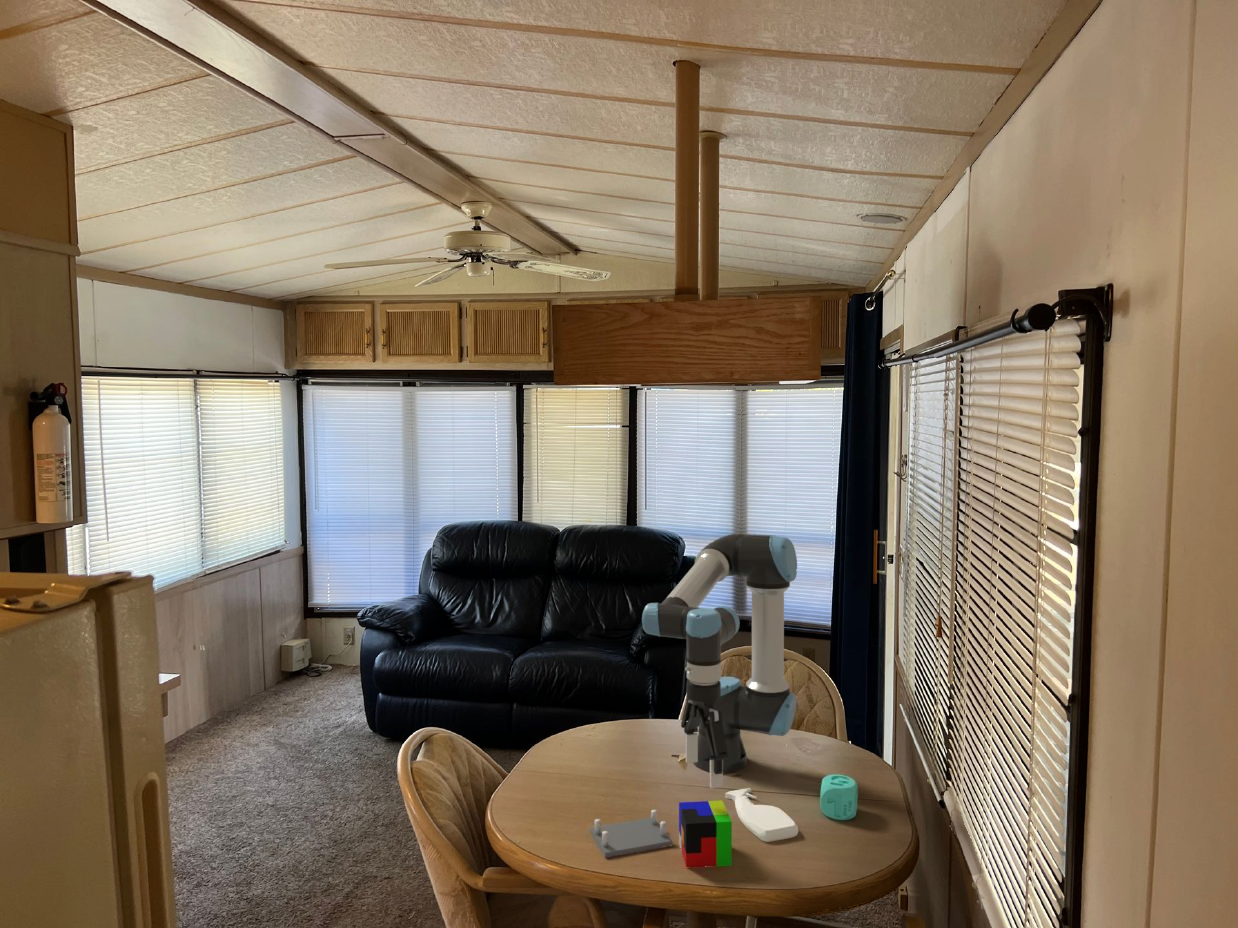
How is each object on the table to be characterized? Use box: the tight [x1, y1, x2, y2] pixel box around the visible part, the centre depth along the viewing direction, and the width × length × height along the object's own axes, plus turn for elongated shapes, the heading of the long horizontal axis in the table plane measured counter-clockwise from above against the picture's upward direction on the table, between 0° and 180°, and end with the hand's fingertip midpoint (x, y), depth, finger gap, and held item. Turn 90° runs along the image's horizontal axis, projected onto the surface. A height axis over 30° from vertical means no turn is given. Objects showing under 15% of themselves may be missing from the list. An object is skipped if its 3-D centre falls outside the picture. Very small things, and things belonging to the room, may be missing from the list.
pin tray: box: [589, 809, 673, 859], centre depth 200 cm, size 16×12×4 cm
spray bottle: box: [724, 787, 799, 843], centre depth 211 cm, size 3×11×24 cm
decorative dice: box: [819, 774, 859, 821], centre depth 212 cm, size 8×8×8 cm
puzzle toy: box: [678, 799, 733, 868], centre depth 192 cm, size 10×10×10 cm
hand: (703, 774), depth 192 cm, fingers open, 13 cm apart
